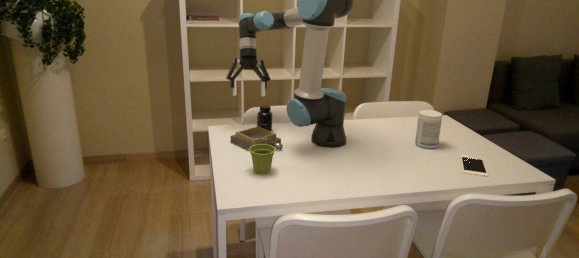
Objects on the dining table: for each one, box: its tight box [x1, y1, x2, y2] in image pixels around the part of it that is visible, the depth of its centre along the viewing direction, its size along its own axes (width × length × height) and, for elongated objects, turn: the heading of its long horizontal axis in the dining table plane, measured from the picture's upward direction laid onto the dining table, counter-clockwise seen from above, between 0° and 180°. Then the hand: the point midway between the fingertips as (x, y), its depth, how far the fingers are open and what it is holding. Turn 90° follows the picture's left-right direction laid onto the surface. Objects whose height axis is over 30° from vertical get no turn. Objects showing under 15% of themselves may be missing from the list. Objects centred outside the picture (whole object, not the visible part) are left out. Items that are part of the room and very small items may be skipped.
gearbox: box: [230, 125, 283, 152], centre depth 181 cm, size 20×14×5 cm
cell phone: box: [459, 153, 489, 177], centre depth 170 cm, size 9×18×1 cm, turn 163°
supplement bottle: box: [256, 104, 273, 132], centre depth 195 cm, size 7×7×12 cm
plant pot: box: [248, 144, 276, 175], centre depth 157 cm, size 9×9×9 cm
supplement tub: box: [414, 109, 443, 150], centre depth 186 cm, size 10×10×15 cm
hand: (249, 96), depth 194 cm, fingers open, 13 cm apart
